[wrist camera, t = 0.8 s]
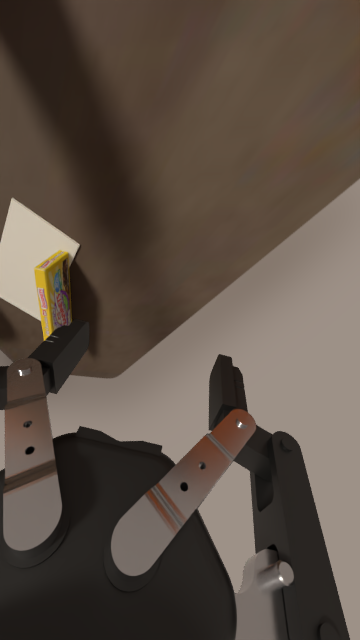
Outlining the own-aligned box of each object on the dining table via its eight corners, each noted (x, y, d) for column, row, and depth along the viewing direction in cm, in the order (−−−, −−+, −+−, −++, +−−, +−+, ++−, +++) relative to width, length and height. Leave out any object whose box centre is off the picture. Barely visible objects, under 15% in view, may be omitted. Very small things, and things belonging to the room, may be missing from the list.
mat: (-11, 289, 48) (-12, 290, 48) (13, 198, 38) (11, 198, 37) (43, 321, 51) (43, 322, 51) (80, 244, 40) (79, 245, 40)
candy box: (74, 324, 50) (54, 350, 43) (64, 322, 50) (42, 347, 43) (70, 252, 41) (44, 270, 34) (58, 249, 41) (29, 267, 34)
